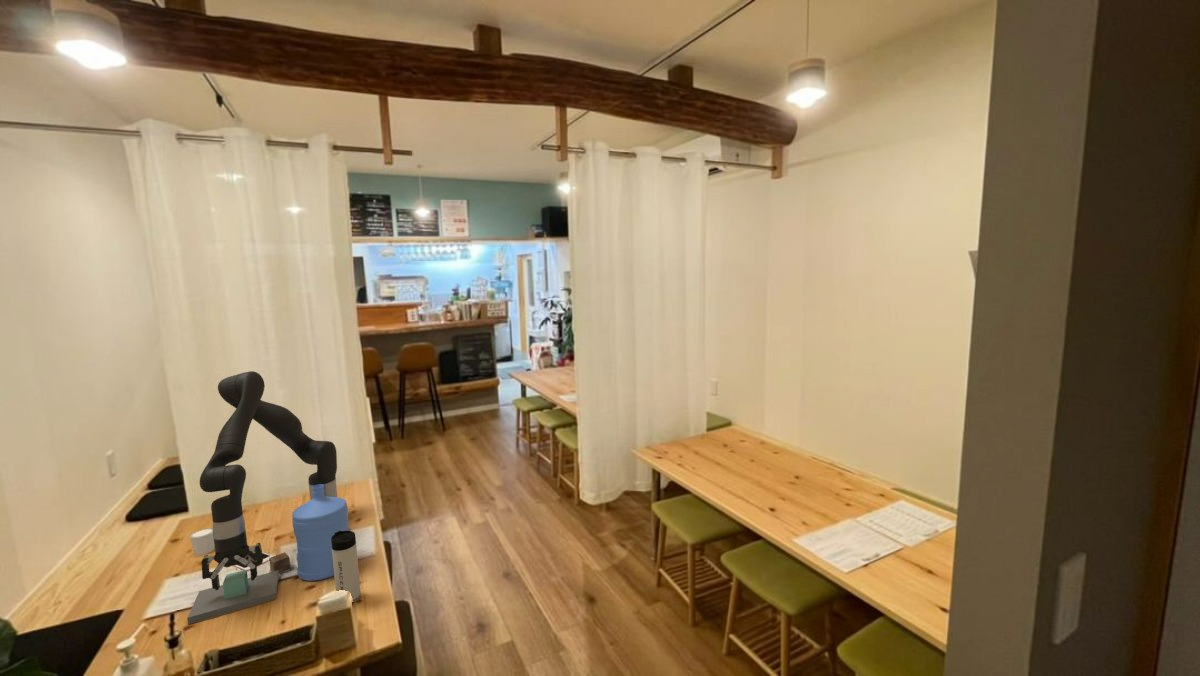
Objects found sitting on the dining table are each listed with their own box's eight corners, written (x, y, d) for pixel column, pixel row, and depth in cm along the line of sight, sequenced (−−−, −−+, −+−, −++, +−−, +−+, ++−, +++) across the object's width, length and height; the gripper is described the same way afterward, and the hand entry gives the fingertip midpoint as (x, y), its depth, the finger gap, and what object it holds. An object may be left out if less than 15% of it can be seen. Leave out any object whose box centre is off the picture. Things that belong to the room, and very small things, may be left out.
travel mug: (353, 589, 144) (347, 526, 142) (365, 597, 140) (359, 532, 139) (332, 601, 139) (325, 536, 137) (343, 609, 135) (337, 542, 134)
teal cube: (248, 584, 145) (246, 569, 145) (245, 593, 141) (244, 577, 141) (228, 590, 143) (226, 574, 142) (224, 599, 139) (222, 583, 138)
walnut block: (286, 564, 160) (284, 552, 159) (290, 569, 157) (289, 556, 156) (270, 571, 156) (269, 558, 156) (274, 575, 153) (273, 562, 153)
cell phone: (246, 548, 172) (245, 545, 172) (275, 559, 164) (275, 556, 164) (217, 561, 164) (217, 558, 164) (247, 572, 156) (246, 570, 156)
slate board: (279, 575, 153) (278, 570, 153) (275, 599, 141) (274, 593, 141) (200, 597, 143) (199, 591, 143) (188, 624, 131) (187, 617, 131)
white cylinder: (202, 557, 166) (200, 538, 166) (186, 555, 168) (184, 537, 167) (221, 547, 173) (219, 528, 172) (206, 545, 174) (204, 527, 174)
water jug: (363, 558, 162) (356, 479, 159) (322, 585, 147) (314, 498, 144) (328, 552, 167) (321, 474, 164) (286, 577, 152) (277, 493, 149)
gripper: (260, 520, 147) (266, 570, 148) (201, 533, 140) (208, 585, 141) (257, 530, 140) (263, 582, 142) (195, 544, 133) (202, 599, 135)
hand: (235, 583), depth 142 cm, fingers open, 8 cm apart
